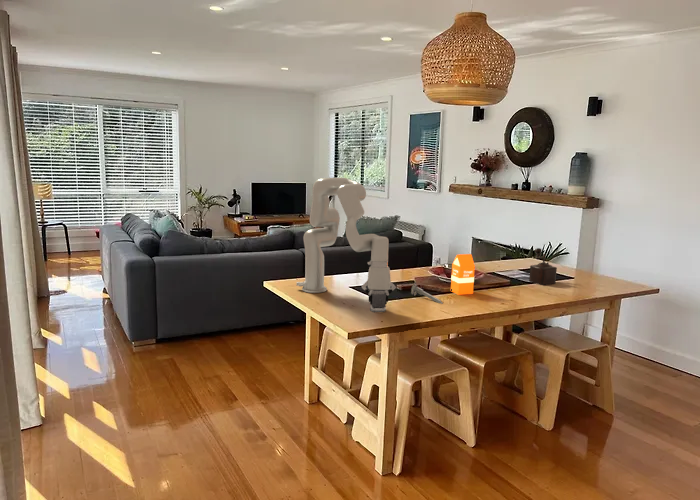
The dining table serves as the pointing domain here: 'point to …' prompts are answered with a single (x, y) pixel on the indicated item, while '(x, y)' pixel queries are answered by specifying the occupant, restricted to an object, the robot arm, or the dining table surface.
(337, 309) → the dining table surface
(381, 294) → the grey stone cube
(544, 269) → the brown coffee grinder
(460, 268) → the orange juice
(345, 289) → the dining table surface
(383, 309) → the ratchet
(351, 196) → the robot arm
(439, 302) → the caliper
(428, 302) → the dining table surface
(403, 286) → the dining table surface
